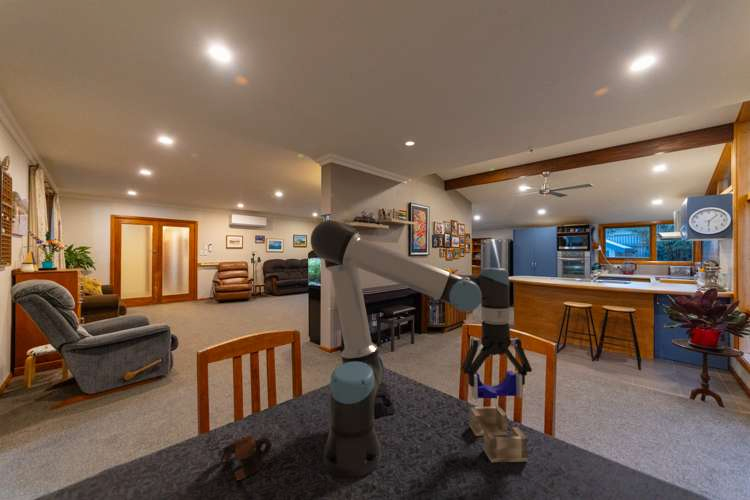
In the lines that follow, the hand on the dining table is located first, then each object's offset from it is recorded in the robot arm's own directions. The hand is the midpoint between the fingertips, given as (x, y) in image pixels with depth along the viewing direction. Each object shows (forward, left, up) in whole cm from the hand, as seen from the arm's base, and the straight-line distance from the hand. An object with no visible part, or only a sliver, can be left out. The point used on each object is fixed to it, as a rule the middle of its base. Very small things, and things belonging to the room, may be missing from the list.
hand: (496, 396), depth 85 cm
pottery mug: (-68, -7, -14) cm, 70 cm away
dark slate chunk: (-35, +25, -14) cm, 46 cm away
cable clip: (0, +2, -1) cm, 2 cm away
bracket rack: (0, 0, -13) cm, 13 cm away
